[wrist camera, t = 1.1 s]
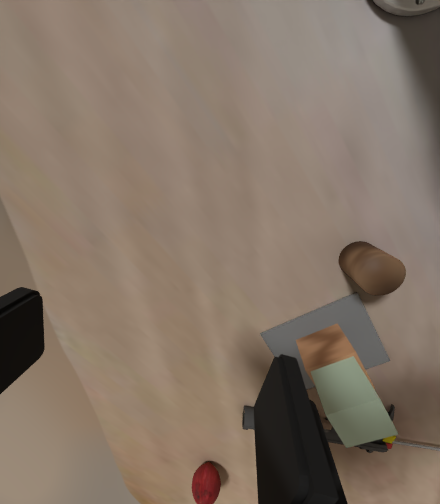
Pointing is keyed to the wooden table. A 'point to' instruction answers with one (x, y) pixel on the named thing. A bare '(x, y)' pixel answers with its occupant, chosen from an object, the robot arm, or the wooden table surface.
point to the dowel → (372, 268)
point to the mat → (342, 312)
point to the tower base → (326, 349)
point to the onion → (206, 484)
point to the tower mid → (352, 403)
